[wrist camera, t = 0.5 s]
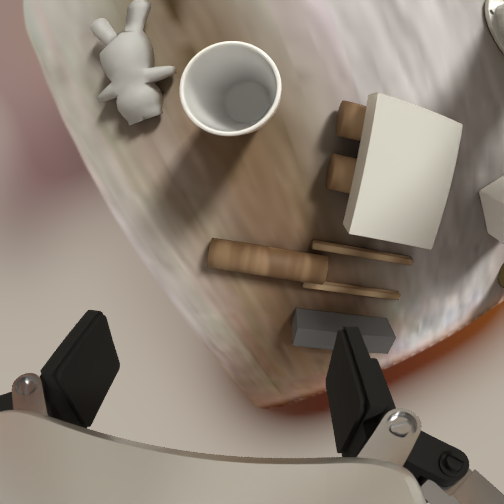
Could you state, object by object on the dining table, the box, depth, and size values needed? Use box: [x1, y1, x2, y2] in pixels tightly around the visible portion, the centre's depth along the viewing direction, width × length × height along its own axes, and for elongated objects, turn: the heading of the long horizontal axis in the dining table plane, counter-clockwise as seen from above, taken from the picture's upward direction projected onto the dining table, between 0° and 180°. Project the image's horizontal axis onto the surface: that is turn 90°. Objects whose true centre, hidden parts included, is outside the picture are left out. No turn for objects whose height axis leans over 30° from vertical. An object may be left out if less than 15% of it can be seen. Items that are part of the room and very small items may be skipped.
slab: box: [343, 93, 463, 250], centre depth 27 cm, size 10×14×3 cm
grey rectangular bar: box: [291, 308, 396, 354], centre depth 39 cm, size 14×3×4 cm, turn 82°
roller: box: [207, 238, 328, 285], centre depth 37 cm, size 14×4×4 cm, turn 82°
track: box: [302, 101, 413, 300], centre depth 33 cm, size 14×23×4 cm, turn 172°
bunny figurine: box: [91, 0, 176, 125], centre depth 27 cm, size 10×5×15 cm
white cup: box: [179, 41, 282, 136], centre depth 24 cm, size 7×7×15 cm
